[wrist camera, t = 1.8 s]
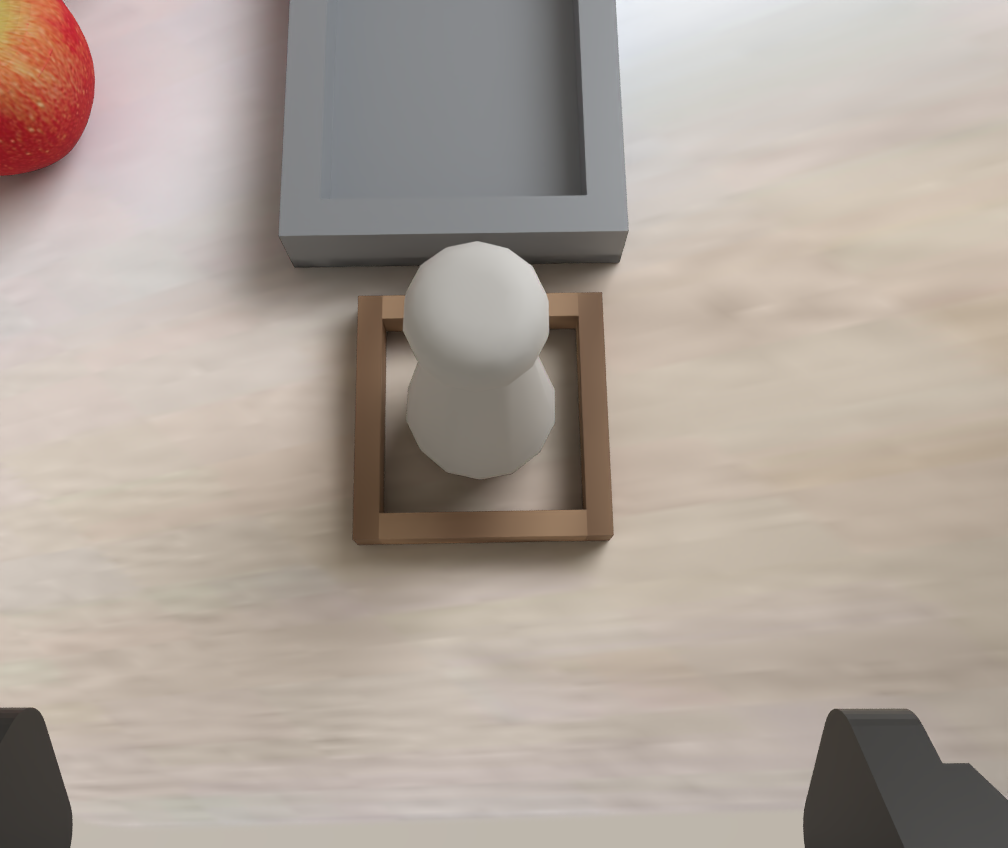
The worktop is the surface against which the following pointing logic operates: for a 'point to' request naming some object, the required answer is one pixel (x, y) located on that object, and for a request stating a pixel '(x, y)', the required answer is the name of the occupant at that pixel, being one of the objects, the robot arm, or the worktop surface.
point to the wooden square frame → (481, 525)
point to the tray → (452, 131)
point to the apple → (41, 84)
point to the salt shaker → (478, 360)
